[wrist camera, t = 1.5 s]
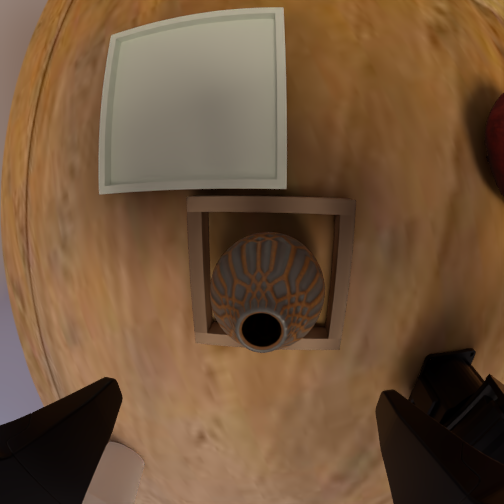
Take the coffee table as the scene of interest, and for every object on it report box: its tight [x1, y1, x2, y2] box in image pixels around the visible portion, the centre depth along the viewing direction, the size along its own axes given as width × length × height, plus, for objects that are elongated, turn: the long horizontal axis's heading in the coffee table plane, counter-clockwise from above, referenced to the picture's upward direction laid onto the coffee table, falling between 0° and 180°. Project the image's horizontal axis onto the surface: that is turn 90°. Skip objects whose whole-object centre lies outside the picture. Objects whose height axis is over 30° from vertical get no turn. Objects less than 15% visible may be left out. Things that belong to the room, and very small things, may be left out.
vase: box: [210, 232, 325, 353], centre depth 17 cm, size 7×7×9 cm
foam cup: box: [82, 442, 145, 504], centre depth 24 cm, size 10×9×13 cm
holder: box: [187, 195, 356, 350], centre depth 20 cm, size 11×11×2 cm
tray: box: [99, 8, 287, 194], centre depth 17 cm, size 14×14×2 cm
